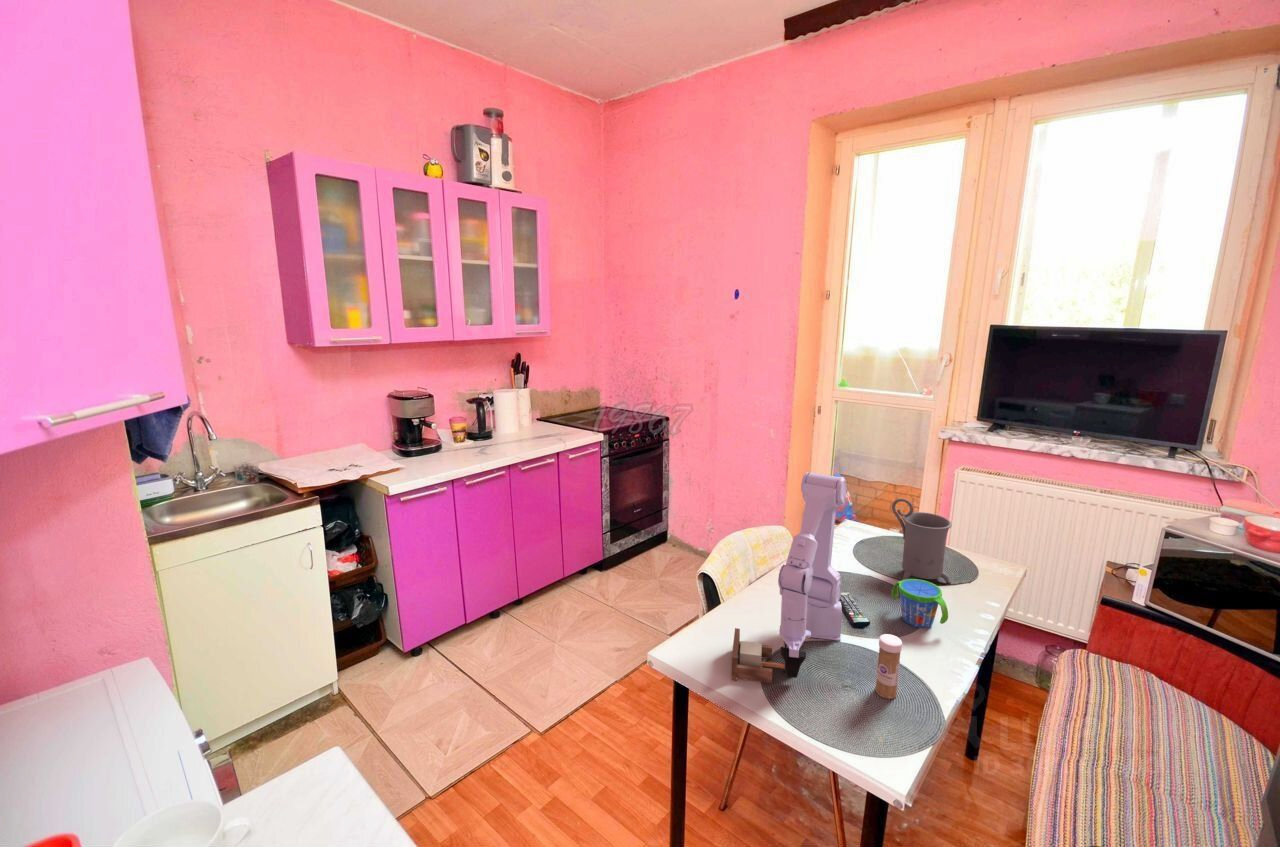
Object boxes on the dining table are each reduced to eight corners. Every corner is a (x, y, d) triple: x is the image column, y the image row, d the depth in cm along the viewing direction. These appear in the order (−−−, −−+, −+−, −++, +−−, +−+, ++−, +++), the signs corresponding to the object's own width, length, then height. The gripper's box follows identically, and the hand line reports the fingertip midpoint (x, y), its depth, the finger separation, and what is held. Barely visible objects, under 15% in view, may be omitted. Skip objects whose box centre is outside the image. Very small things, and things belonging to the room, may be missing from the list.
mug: (954, 575, 173) (962, 501, 168) (947, 594, 162) (956, 515, 157) (892, 559, 184) (897, 490, 179) (881, 577, 173) (887, 503, 168)
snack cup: (880, 611, 153) (883, 578, 151) (908, 603, 157) (911, 571, 155) (926, 641, 139) (929, 605, 137) (956, 632, 142) (960, 597, 140)
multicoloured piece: (797, 665, 130) (798, 643, 129) (798, 679, 126) (799, 656, 124) (740, 658, 133) (741, 637, 132) (739, 671, 129) (739, 649, 127)
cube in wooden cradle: (771, 653, 135) (772, 632, 134) (771, 685, 124) (772, 662, 122) (734, 649, 137) (735, 628, 136) (731, 680, 126) (731, 657, 124)
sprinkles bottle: (872, 693, 120) (876, 640, 118) (878, 683, 124) (883, 630, 121) (894, 703, 118) (899, 648, 115) (899, 691, 121) (904, 638, 118)
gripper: (814, 634, 117) (811, 688, 120) (809, 599, 131) (806, 649, 134) (780, 630, 119) (778, 684, 122) (779, 596, 133) (777, 646, 136)
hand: (791, 665), depth 128 cm, fingers open, 7 cm apart
